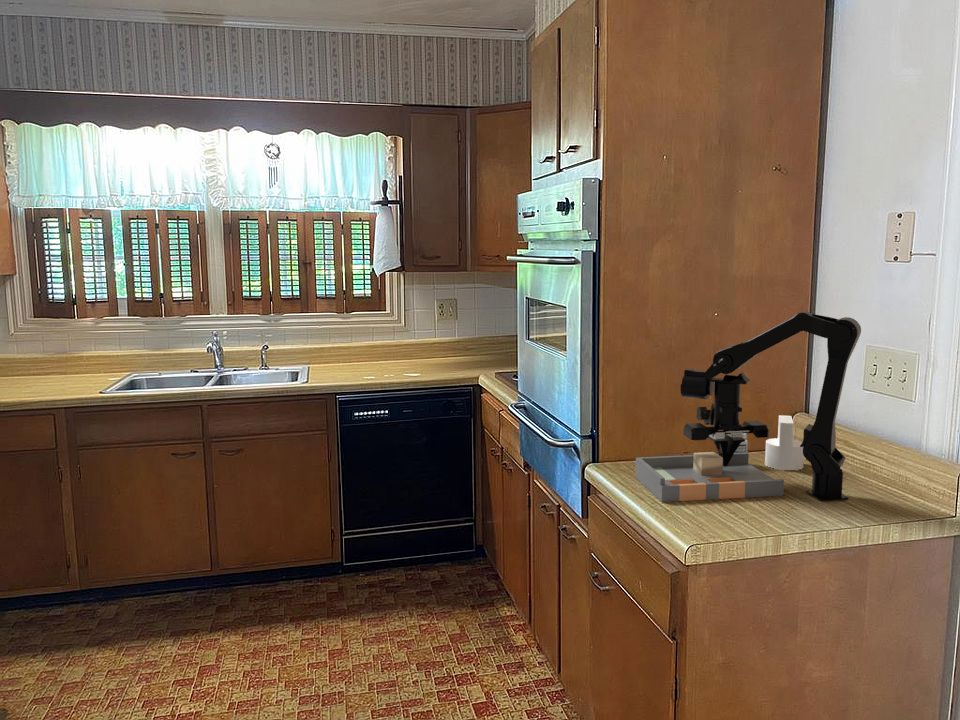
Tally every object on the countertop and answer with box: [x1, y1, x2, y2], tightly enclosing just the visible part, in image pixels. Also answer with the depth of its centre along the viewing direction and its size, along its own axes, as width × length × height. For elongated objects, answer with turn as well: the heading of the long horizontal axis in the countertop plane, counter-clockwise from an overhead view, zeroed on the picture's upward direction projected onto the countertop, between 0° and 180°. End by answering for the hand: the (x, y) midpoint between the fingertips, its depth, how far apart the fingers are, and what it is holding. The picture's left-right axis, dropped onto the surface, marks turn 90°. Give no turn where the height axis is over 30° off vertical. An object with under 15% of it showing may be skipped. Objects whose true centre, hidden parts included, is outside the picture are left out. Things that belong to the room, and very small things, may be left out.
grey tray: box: [635, 452, 785, 503], centre depth 174 cm, size 18×28×5 cm, turn 97°
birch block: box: [693, 451, 723, 475], centre depth 177 cm, size 5×5×4 cm
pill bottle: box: [734, 433, 749, 453], centre depth 191 cm, size 5×5×8 cm
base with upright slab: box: [764, 414, 805, 471], centre depth 189 cm, size 9×9×12 cm
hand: (724, 465), depth 178 cm, fingers closed
